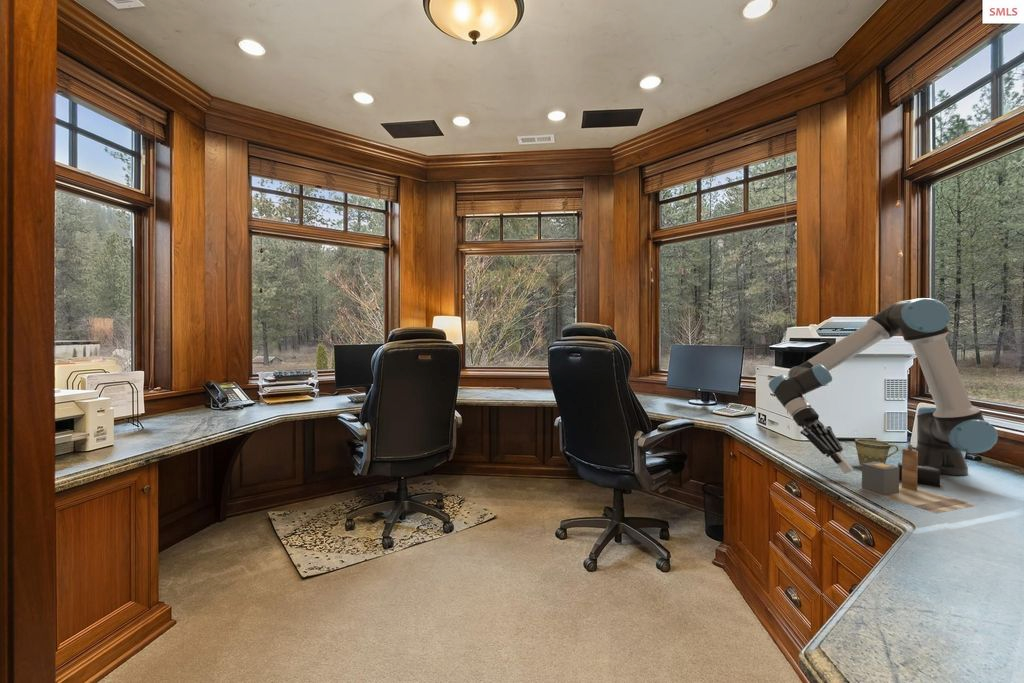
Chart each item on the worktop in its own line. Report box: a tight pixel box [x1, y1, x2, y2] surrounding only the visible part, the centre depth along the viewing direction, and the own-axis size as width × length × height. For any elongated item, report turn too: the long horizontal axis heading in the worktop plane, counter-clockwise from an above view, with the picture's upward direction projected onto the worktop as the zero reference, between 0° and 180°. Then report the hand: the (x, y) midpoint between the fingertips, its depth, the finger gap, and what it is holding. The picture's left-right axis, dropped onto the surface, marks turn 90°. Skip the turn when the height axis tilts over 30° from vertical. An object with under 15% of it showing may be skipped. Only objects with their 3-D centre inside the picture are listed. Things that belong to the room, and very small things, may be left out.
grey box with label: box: [861, 462, 900, 497], centre depth 132 cm, size 7×6×8 cm
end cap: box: [897, 462, 941, 488], centre depth 140 cm, size 10×7×7 cm
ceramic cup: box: [854, 438, 899, 467], centre depth 157 cm, size 13×10×10 cm
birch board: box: [861, 482, 977, 514], centre depth 127 cm, size 18×19×1 cm
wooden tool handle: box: [901, 444, 918, 490], centre depth 134 cm, size 4×4×14 cm
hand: (849, 471), depth 140 cm, fingers closed
